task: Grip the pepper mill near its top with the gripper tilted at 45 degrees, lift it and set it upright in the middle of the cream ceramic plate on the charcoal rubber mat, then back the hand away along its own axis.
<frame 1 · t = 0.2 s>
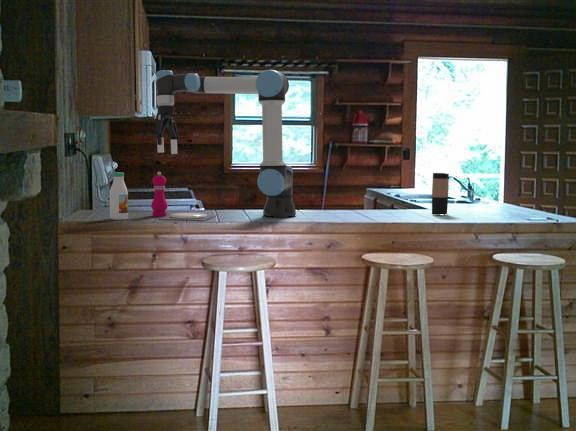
hand: (167, 153, 322), 28 cm above the worktop, tool pointing down, fingers open, 13 cm apart
plate: (188, 215, 317), on the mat
travel mug: (439, 215, 347), on the worktop
pepper mill: (159, 216, 323), on the worktop
milk bottle: (119, 219, 309), on the worktop
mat: (188, 217, 317), on the worktop
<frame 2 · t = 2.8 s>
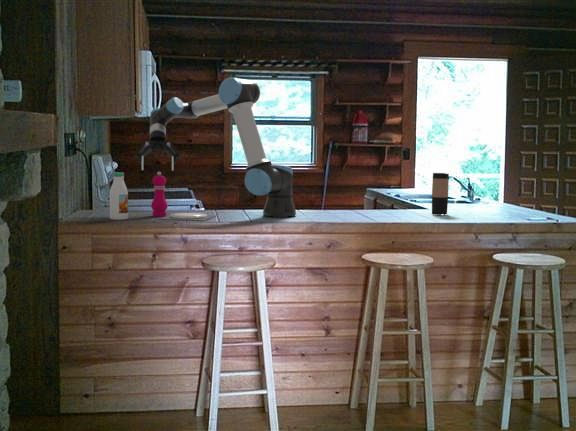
hand: (157, 168, 327), 21 cm above the worktop, tool tilted 45°, fingers open, 13 cm apart
nothing on the worktop moved.
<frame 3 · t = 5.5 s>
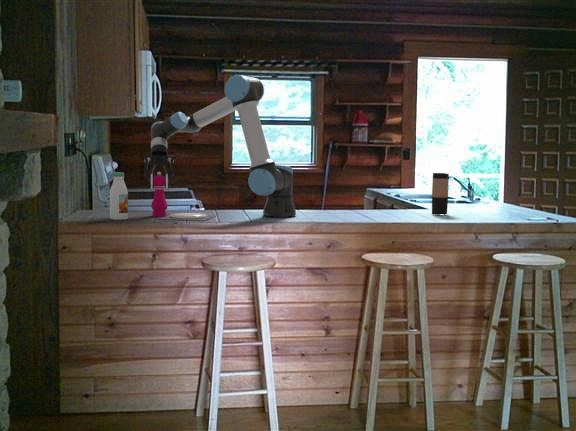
hand: (159, 186, 318), 13 cm above the worktop, tool tilted 45°, fingers closed on pepper mill, 6 cm apart
pepper mill: (159, 216, 323), on the worktop, touching gripper
everything else where it was.
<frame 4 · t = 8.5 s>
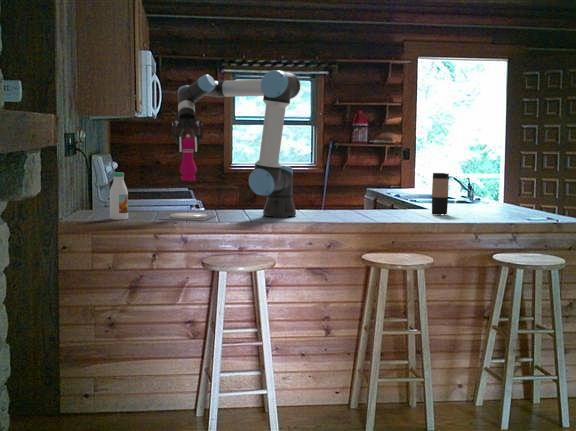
hand: (188, 149, 310), 30 cm above the worktop, tool tilted 45°, fingers closed on pepper mill, 6 cm apart
pepper mill: (188, 180, 315), point 17 cm above the worktop, touching gripper
everything else where it was.
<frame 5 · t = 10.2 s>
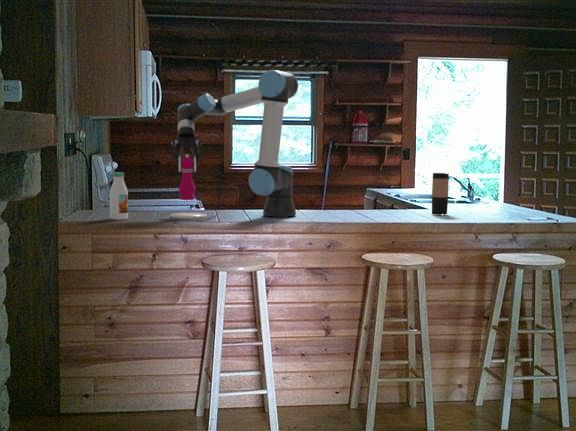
hand: (187, 169, 311), 21 cm above the worktop, tool tilted 45°, fingers closed on pepper mill, 6 cm apart
pepper mill: (187, 199, 316), point 8 cm above the worktop, touching gripper
everything else where it was.
when the fingers open (16 cm above the worktop, at t = 11.7 s): pepper mill stays where it is, resting on plate.
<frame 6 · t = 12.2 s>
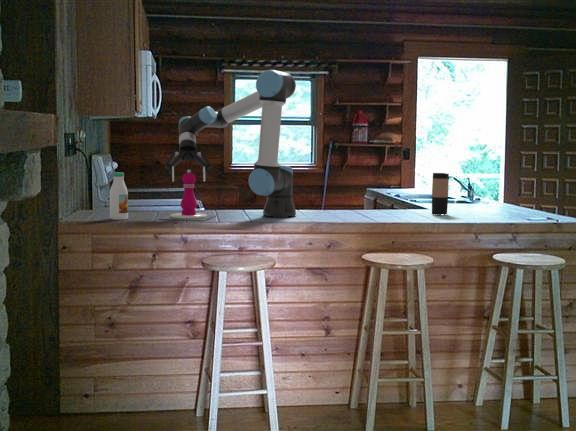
hand: (188, 179, 313), 17 cm above the worktop, tool tilted 45°, fingers open, 13 cm apart
pepper mill: (188, 215, 317), point 1 cm above the worktop, touching plate
everything else where it was.
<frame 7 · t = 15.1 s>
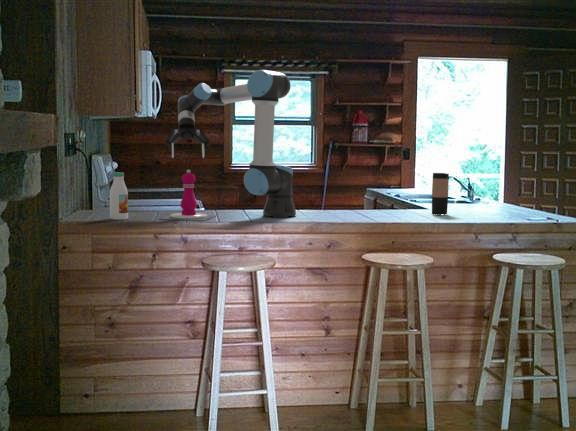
hand: (188, 155, 320), 27 cm above the worktop, tool tilted 45°, fingers open, 13 cm apart
nothing on the worktop moved.
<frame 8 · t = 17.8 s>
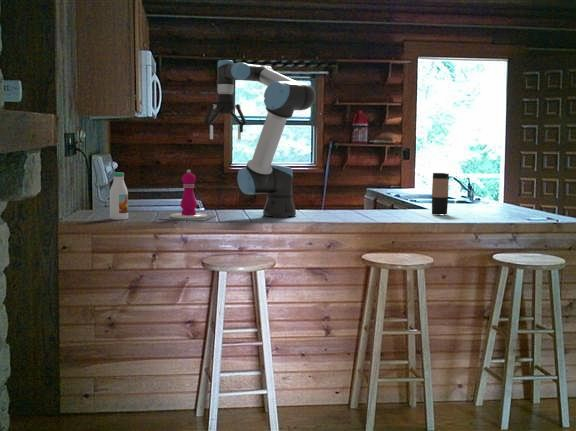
hand: (225, 139, 339), 35 cm above the worktop, tool pointing down, fingers open, 13 cm apart
nothing on the worktop moved.
at the end: pepper mill inside the target area on the plate (0.0 cm from its centre), point 1.2 cm above the plate's base; pepper mill tilted 0°; the gripper is holding nothing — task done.
